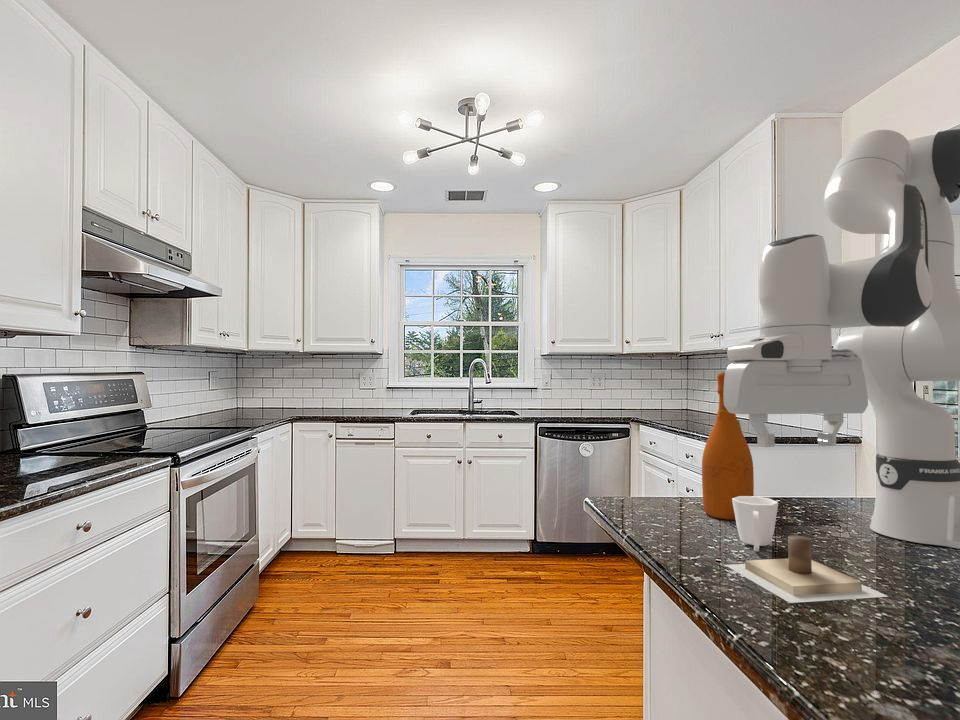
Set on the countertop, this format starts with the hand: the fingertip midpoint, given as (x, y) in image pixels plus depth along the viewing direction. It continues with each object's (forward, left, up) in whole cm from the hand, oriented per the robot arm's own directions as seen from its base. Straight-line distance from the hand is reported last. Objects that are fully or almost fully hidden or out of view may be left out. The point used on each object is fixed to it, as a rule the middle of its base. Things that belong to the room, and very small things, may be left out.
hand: (796, 446), depth 77 cm
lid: (0, 0, -19) cm, 19 cm away
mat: (0, 0, -19) cm, 19 cm away
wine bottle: (-12, -36, -19) cm, 43 cm away
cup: (-3, -14, -19) cm, 24 cm away
